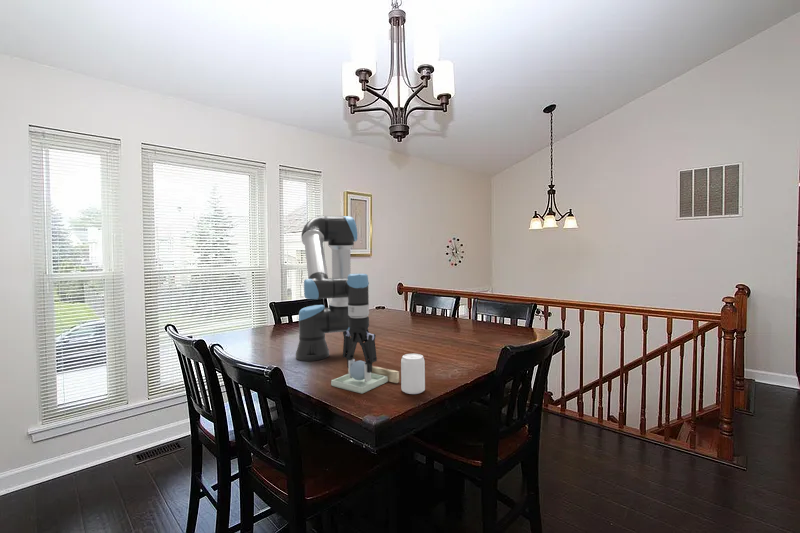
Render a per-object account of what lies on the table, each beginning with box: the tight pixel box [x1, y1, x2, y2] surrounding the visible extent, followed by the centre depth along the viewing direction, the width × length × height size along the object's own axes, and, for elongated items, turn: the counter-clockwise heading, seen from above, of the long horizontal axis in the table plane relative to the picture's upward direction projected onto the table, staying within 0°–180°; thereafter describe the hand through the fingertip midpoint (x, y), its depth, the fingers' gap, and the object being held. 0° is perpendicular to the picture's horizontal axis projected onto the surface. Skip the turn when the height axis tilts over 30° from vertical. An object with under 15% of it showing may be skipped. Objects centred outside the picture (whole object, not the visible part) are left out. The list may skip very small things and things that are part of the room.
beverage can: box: [400, 353, 426, 395], centre depth 133 cm, size 8×8×12 cm
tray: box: [330, 373, 389, 395], centre depth 141 cm, size 14×14×2 cm
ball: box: [350, 359, 366, 380], centre depth 141 cm, size 7×7×7 cm
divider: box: [347, 365, 400, 384], centre depth 148 cm, size 24×2×4 cm, turn 55°
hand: (359, 379), depth 141 cm, fingers closed on ball, 7 cm apart
